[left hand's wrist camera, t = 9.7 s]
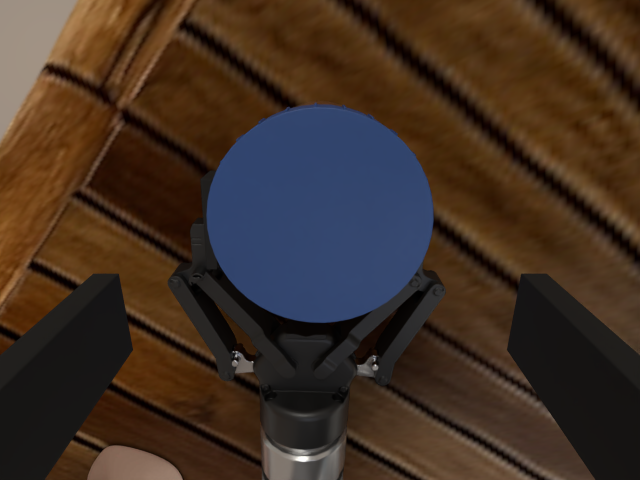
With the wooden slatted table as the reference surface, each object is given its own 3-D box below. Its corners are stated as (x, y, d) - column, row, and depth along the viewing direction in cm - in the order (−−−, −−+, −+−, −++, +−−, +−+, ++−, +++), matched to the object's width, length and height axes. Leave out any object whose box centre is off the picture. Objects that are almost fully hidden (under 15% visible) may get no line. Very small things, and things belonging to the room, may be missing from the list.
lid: (228, 306, 25) (220, 327, 23) (202, 106, 21) (189, 110, 19) (419, 300, 25) (428, 321, 23) (429, 97, 21) (442, 100, 19)
